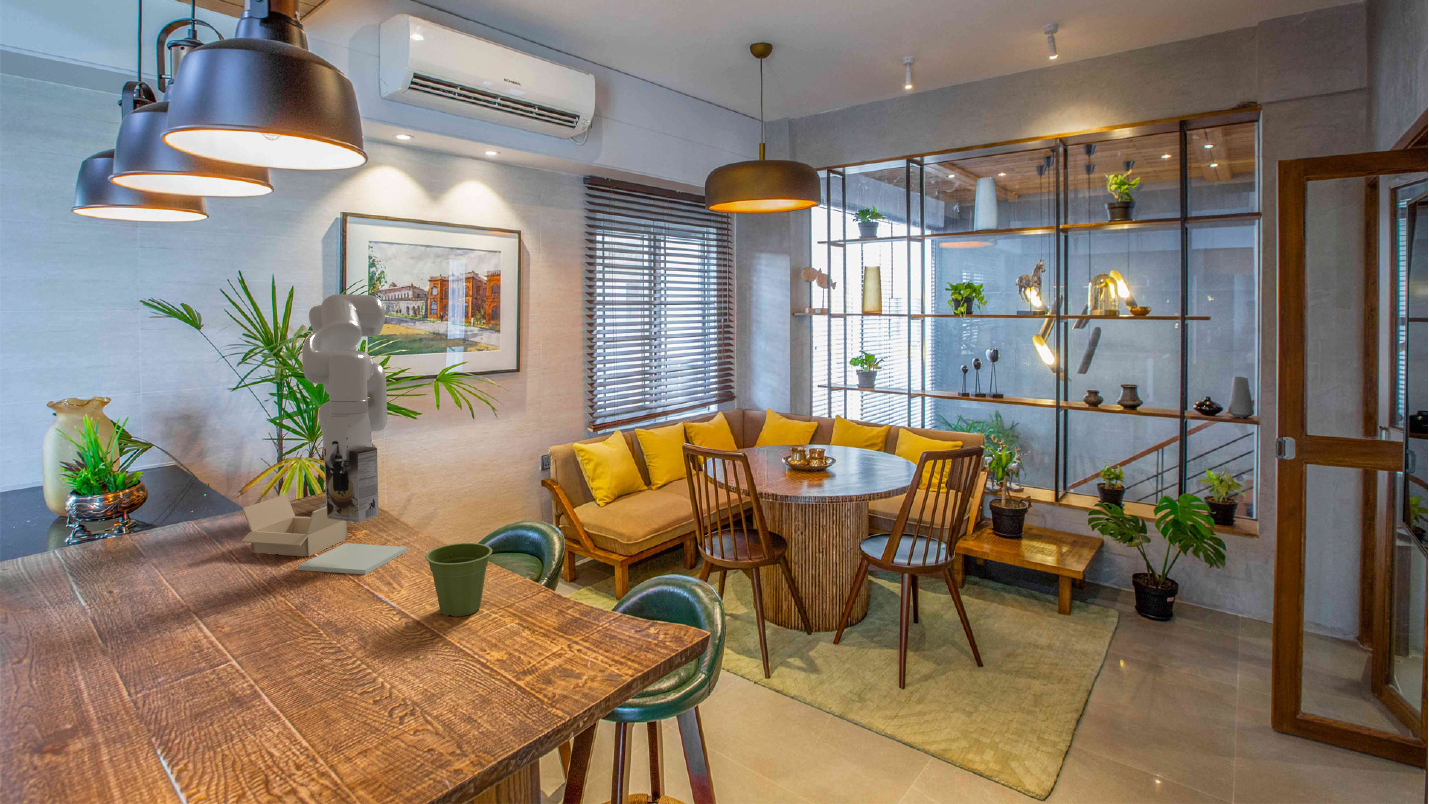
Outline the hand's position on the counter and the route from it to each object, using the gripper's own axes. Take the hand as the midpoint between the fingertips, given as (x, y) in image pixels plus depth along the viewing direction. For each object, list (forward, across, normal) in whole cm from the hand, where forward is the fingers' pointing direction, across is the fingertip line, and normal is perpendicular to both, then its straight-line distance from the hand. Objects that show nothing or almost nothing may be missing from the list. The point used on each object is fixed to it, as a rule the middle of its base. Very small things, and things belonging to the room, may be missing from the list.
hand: (352, 486), depth 156 cm
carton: (+17, -7, -19) cm, 27 cm away
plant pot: (+18, +22, +37) cm, 46 cm away
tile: (+17, 0, 0) cm, 17 cm away
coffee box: (+7, 0, 0) cm, 7 cm away
